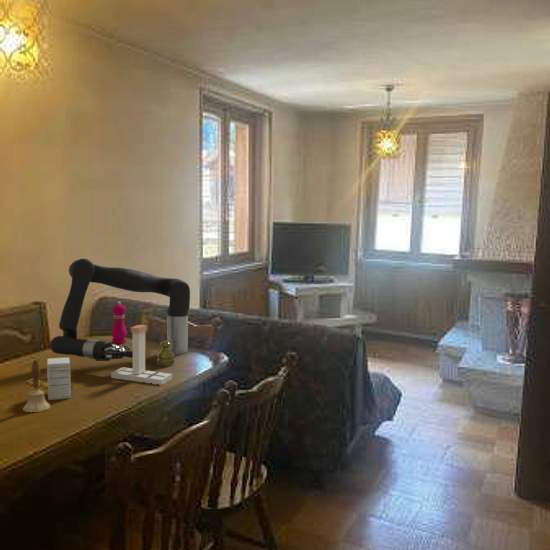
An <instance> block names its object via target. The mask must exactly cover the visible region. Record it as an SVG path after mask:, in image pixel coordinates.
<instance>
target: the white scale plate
mask: <svg viewBox="0 0 550 550" xmlns="http://www.w3.org/2000/svg"><path fill="white" fill-rule="evenodd" d="M110 378H111V379H116V380H117V379H118V380H123V381H124V380H125V381H130V380H131V382H138V383H143V382H145V384H150V383H152V384H151V385H157V384H159V386H163V385H164V384H166V383H168V382H169V380H170V381H172V380H173V373H167V372H161V371H160V372H159V371H154V370H153V371H152V370H146V369H145V371H144V372H143V373H141V374H134V373H133V367H131V368H130V367H125V366H123V367H120V368H118V369H115V370H114V371H111V372H110ZM167 381H168V382H167ZM162 384H163V385H162Z"/></svg>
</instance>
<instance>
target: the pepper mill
mask: <svg viewBox="0 0 550 550" xmlns="http://www.w3.org/2000/svg"><path fill="white" fill-rule="evenodd" d="M112 313H113V318H114V323H113V326H112V329H111V337H112V339H111V340H112V341H111V344H115V345H122V343H123V344H125V342H126V341H127V339H126V337H127V335H128V331H127V329H126V326H125V323H124V319H125V313H126V306H125V305H123V304H122V303H121V301H120V300H119V301H117V303H116V304H115V305H114V306H113V307H112ZM126 343H127V342H126Z"/></svg>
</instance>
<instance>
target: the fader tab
mask: <svg viewBox="0 0 550 550" xmlns="http://www.w3.org/2000/svg"><path fill="white" fill-rule="evenodd" d="M147 331H148V325H144V324H137V325H134V326H130V334H131V333H132V351H133V358H132V368H133V373H134V374H141V373H143V372H144V371H145V370H146V332H147Z"/></svg>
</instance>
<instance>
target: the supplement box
mask: <svg viewBox="0 0 550 550" xmlns="http://www.w3.org/2000/svg"><path fill="white" fill-rule="evenodd" d="M70 360H71V359H70V357H53V358H47V359H46V374H47V377H46V379H47V399H48V401H51V400H52V401H53V400H64V399H71V392H72V391H71V362H70Z"/></svg>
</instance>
